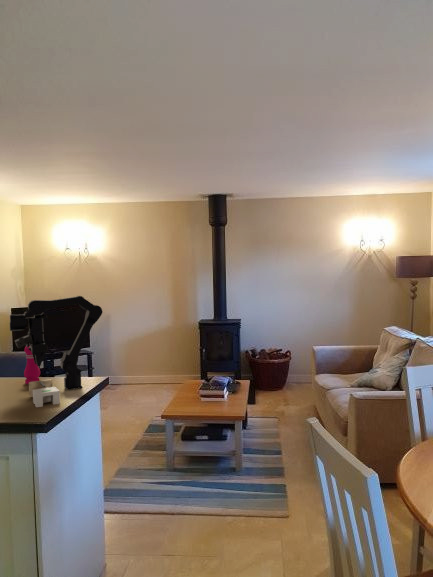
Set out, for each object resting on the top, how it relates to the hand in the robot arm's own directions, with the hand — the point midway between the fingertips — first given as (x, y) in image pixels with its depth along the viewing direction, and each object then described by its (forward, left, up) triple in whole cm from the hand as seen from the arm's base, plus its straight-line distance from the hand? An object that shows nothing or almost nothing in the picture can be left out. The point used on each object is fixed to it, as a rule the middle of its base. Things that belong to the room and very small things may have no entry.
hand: (37, 365), depth 182 cm
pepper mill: (0, -21, -12) cm, 24 cm away
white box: (0, +13, -12) cm, 18 cm away
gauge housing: (0, +19, -12) cm, 22 cm away
